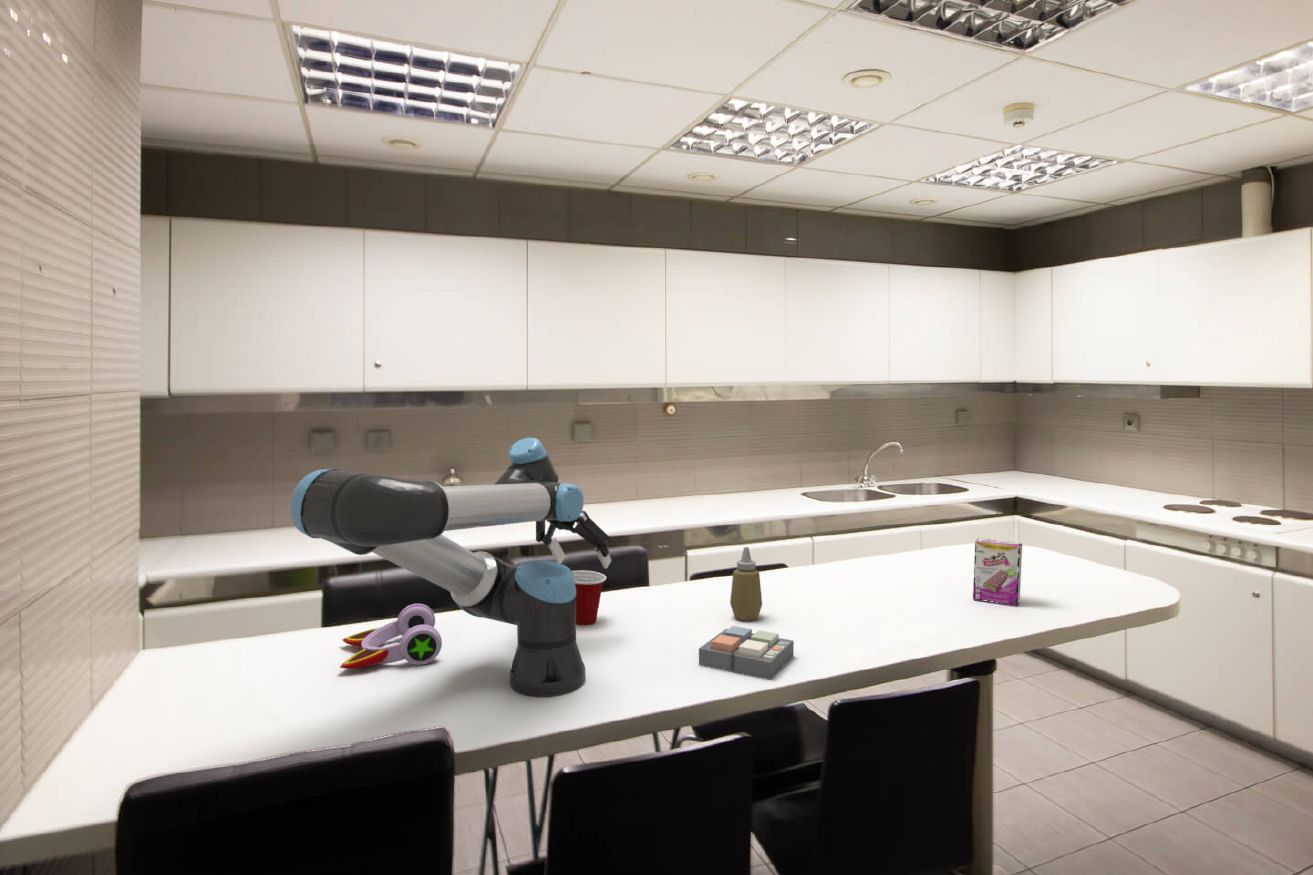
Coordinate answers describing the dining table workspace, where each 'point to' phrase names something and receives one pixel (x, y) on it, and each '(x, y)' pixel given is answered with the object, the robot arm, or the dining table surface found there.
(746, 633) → the key slate
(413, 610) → the headphones
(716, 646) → the key terracotta
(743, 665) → the keypad
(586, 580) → the plastic cup
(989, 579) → the candy bar box
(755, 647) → the key cream
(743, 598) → the squeeze bottle
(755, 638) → the key sage
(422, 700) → the dining table surface
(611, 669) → the dining table surface
